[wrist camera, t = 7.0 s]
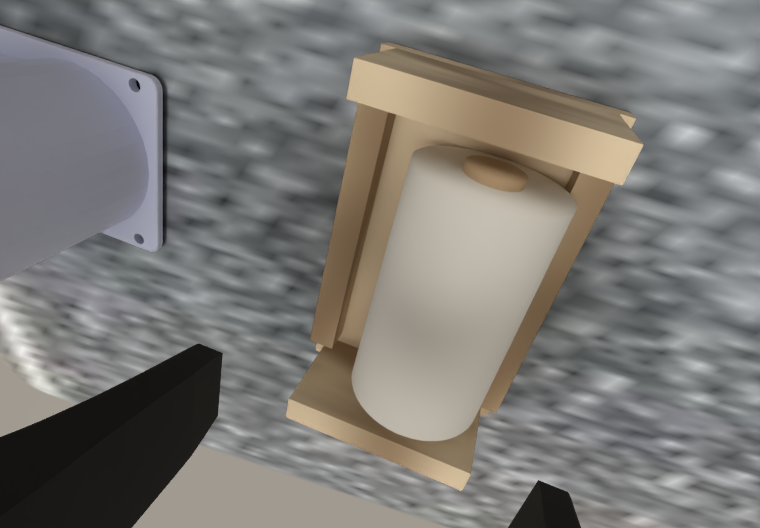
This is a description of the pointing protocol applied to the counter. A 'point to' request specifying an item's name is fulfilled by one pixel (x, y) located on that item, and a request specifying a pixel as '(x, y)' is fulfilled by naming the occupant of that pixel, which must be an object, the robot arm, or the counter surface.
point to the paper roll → (454, 287)
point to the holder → (381, 198)
